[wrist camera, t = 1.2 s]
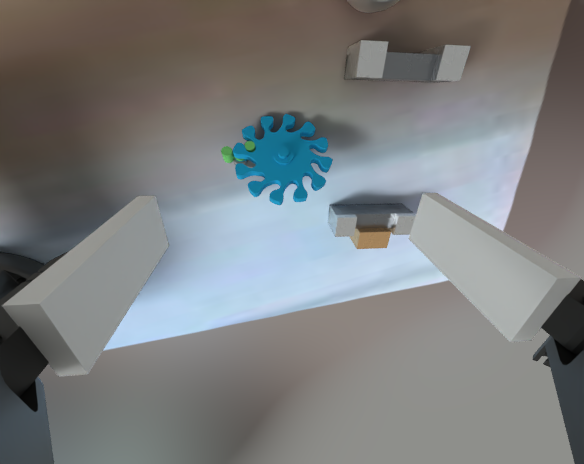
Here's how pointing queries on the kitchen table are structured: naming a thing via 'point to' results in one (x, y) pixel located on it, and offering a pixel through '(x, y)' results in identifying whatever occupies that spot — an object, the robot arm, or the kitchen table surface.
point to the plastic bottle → (372, 5)
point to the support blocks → (390, 67)
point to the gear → (279, 158)
